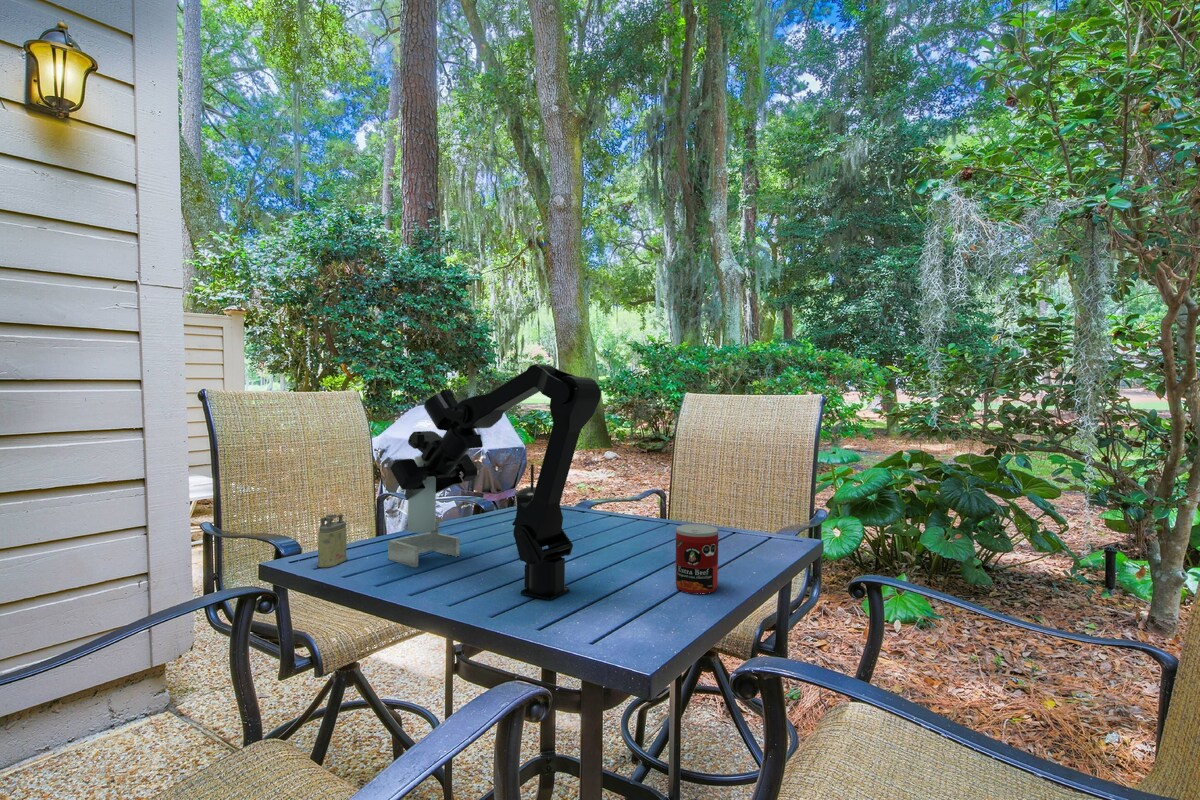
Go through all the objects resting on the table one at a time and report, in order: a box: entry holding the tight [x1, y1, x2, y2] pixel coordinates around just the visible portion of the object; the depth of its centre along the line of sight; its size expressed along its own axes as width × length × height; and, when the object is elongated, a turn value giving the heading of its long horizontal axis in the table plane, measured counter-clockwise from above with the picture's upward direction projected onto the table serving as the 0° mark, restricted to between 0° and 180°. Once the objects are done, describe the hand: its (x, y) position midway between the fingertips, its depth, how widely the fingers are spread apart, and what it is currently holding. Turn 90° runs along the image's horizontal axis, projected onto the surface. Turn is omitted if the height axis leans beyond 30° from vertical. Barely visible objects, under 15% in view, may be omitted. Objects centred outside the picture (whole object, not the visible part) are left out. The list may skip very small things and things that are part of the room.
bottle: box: [407, 455, 437, 534], centre depth 124 cm, size 6×6×16 cm
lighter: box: [317, 513, 348, 568], centre depth 121 cm, size 7×4×10 cm, turn 171°
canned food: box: [675, 523, 719, 595], centre depth 107 cm, size 8×8×11 cm
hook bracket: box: [387, 517, 461, 569], centre depth 126 cm, size 10×12×7 cm
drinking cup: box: [514, 463, 544, 550], centre depth 130 cm, size 8×8×20 cm
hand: (418, 495), depth 125 cm, fingers closed on bottle, 6 cm apart
